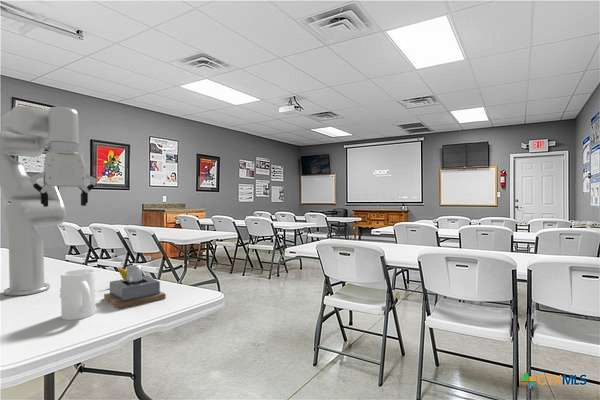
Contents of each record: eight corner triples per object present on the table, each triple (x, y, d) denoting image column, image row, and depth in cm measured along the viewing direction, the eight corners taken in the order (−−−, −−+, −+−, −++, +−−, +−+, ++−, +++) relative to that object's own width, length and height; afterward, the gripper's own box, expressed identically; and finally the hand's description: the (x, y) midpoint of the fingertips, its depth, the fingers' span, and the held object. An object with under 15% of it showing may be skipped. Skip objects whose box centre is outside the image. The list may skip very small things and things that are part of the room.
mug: (69, 326, 89) (68, 280, 88) (57, 315, 97) (56, 272, 96) (104, 317, 95) (103, 274, 94) (90, 308, 103) (89, 268, 102)
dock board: (104, 298, 112) (104, 294, 112) (148, 289, 122) (148, 285, 122) (119, 309, 102) (119, 303, 102) (165, 298, 112) (165, 293, 112)
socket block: (109, 294, 112) (109, 281, 111) (145, 287, 120) (145, 275, 120) (122, 301, 104) (122, 288, 103) (159, 293, 112) (159, 281, 112)
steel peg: (125, 293, 112) (125, 266, 112) (140, 291, 115) (139, 264, 115) (130, 296, 109) (129, 267, 109) (144, 293, 112) (143, 265, 112)
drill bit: (140, 285, 130) (120, 270, 124) (129, 290, 131) (109, 276, 125) (144, 274, 134) (124, 259, 128) (133, 279, 135) (113, 264, 129)
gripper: (30, 145, 95) (31, 207, 96) (99, 150, 108) (100, 205, 108) (25, 148, 100) (27, 206, 101) (92, 152, 113) (93, 205, 113)
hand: (65, 206), depth 104 cm, fingers open, 9 cm apart
